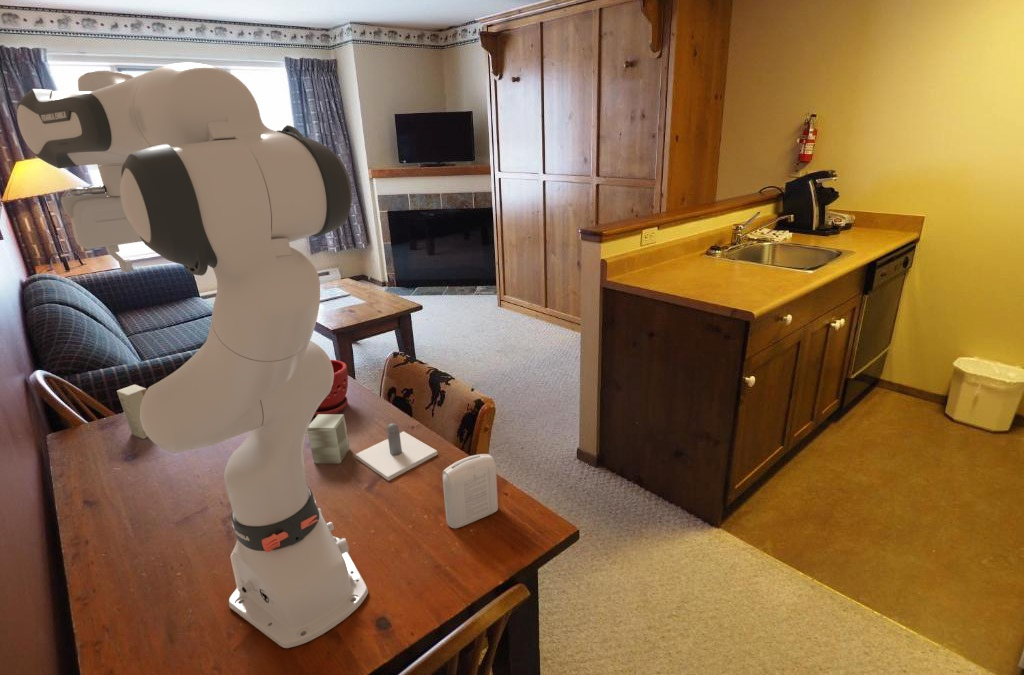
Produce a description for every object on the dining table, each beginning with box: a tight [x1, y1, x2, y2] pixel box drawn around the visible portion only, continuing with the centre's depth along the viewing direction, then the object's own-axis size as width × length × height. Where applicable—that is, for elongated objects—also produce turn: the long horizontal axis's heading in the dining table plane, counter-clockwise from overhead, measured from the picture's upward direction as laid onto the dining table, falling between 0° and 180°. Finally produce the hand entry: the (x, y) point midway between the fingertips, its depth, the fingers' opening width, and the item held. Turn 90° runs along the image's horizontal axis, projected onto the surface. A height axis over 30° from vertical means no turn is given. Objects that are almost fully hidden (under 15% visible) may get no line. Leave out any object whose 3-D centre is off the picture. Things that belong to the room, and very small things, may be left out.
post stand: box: [354, 422, 438, 482], centre depth 120 cm, size 13×13×8 cm
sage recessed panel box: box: [307, 413, 351, 464], centre depth 121 cm, size 6×6×9 cm
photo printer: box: [441, 453, 499, 529], centre depth 99 cm, size 10×4×12 cm, turn 122°
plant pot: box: [313, 359, 349, 417], centre depth 143 cm, size 13×13×12 cm
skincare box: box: [116, 384, 149, 440], centre depth 134 cm, size 6×4×12 cm
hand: (159, 265), depth 93 cm, fingers open, 8 cm apart
